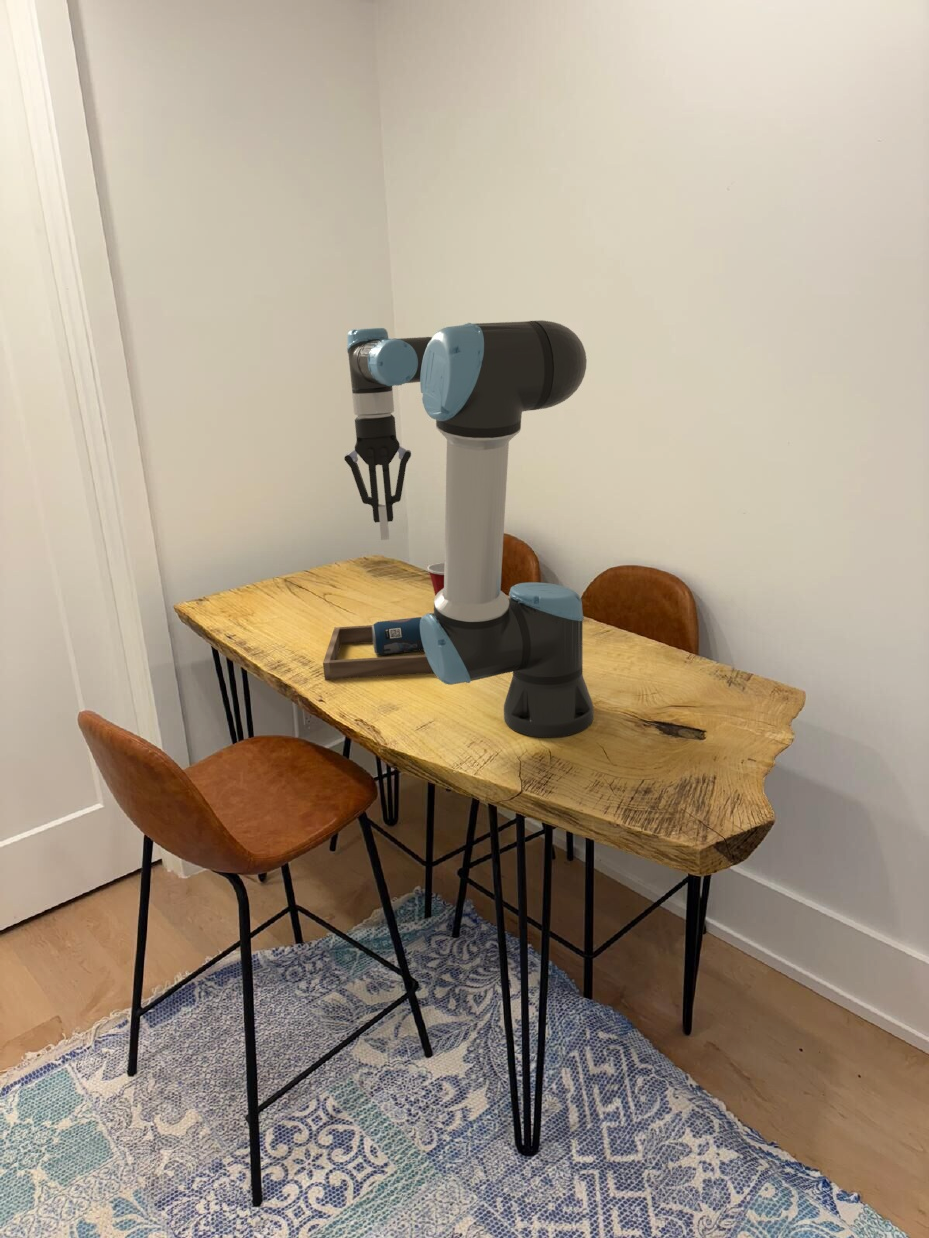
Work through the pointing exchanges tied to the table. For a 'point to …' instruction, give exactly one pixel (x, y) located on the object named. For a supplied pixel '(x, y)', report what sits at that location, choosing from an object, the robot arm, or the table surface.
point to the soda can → (397, 636)
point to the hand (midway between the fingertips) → (385, 537)
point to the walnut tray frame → (367, 665)
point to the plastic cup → (437, 576)
